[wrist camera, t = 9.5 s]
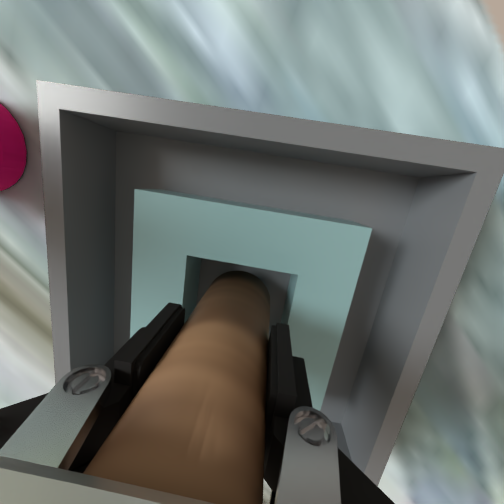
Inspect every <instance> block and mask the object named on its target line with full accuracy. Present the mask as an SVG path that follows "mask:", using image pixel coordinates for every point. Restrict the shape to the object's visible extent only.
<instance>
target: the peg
mask: <svg viewBox="0 0 504 504" xmlns="http://www.w3.org/2000/svg"><path fill="white" fill-rule="evenodd" d="M269 321H270V295H269V292H268V290H267V287H266V286H265V284H264V283H263V282H262V281H261V280H260V279H259V278H258V277H256V276H255V275H253V274H251V273H248V272H245V271H229V272H226V273H223V274H221V275H220V276H218V277H217V278H216V279H215V280H214V281H213V282H212V284H211V285H210V287H209V288H208V290H207V291H206V293H205V294H204V295H203V297H202V298H201V300H200V301H199V303H198V304H197V306H196V307H195V309H194V310H193V312H192V313H191V315H190V316H189V318H188V319H187V321H186V322H185V324H184V325H183V326H182V328H181V329H180V331H179V332H178V334H177V335H176V337H175V338H174V340H173V341H172V343H171V344H170V346H169V347H168V349H167V350H166V352H165V353H164V354H163V356H162V357H161V359H160V360H159V362H158V363H157V365H156V366H155V368H154V369H153V371H152V372H151V374H150V375H149V377H148V378H147V380H146V381H145V383H144V384H143V385H142V387H141V388H140V390H139V391H138V393H137V394H136V396H135V397H134V399H133V400H132V402H131V403H130V405H129V406H128V408H127V409H126V411H125V412H124V413H123V415H122V416H121V418H120V419H119V421H118V422H117V424H116V425H115V427H114V428H113V430H112V431H111V433H110V434H109V436H108V437H107V439H106V440H105V441H104V443H103V444H102V446H101V447H100V449H99V450H98V452H97V453H96V455H95V456H94V458H93V459H92V461H91V462H90V464H89V465H88V467H87V468H86V470H85V471H84V472H83V474H87V475H91V476H96V477H100V478H105V479H109V480H114V481H118V482H122V483H127V484H131V485H136V486H140V487H145V488H149V489H153V490H158V491H162V492H167V493H171V494H175V495H180V496H184V497H188V498H193V499H197V500H202V501H206V502H210V503H214V504H263V478H264V452H265V410H266V386H267V362H268V341H269Z"/></svg>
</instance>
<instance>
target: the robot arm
mask: <svg viewBox="0 0 504 504" xmlns="http://www.w3.org/2000/svg"><path fill="white" fill-rule="evenodd" d="M184 320H185V308H182V305H181V304H176V303H170V302H169V303H168V304H167V305H166V306H165V307H164V308H163V309H162V310H161V311H160V312H159V313H158V314H157V315H156V316H155V318H154V319H153V320H152V321H151V322H150V323H149V324H148V325H147V326H146V327H141V328H140V329H139V330H138V331H137V332H136V333H135V334H134V335H133V336H132V337H131V338H130V339H129V340H128V341H127V342H126V343H125V344H124V345H123V346H122V347H121V348H120V349H119V350H118V351H117V352H116V353H115V354H114V356H113V357H112V358H111V359H110V360H109V361H108V362H107V363H106V364H105V365H101V364H89V365H84V366H81V367H78V368H76V369H73V370H72V371H70V372H68V373H67V374H66V375H64V376H63V377H62V378H61V379H60V380H59V382H58V383H57V384H56V385H55V386H54V387H53V389H52V390H51V391H50V392H49V393H47V394H44V395H41V396H38V397H35V398H32V399H29V400H26V401H23V402H20V403H17V404H14V405H11V406H8V407H4V408H1V409H0V504H214V503H210V502H206V501H202V500H197V499H193V498H188V497H184V496H180V495H175V494H171V493H167V492H162V491H158V490H153V489H149V488H145V487H140V486H136V485H131V484H127V483H122V482H118V481H114V480H109V479H105V478H100V477H96V476H91V475H87V474H83V472H84V471H85V470H86V468H87V467H88V465H89V464H90V462H91V461H92V459H93V458H94V456H95V455H96V453H97V452H98V450H99V449H100V447H101V446H102V444H103V443H104V441H105V440H106V439H107V437H108V436H109V434H110V433H111V431H112V430H113V428H114V427H115V425H116V424H117V422H118V421H119V419H120V418H121V416H122V415H123V413H124V412H125V411H126V409H127V408H128V406H129V405H130V403H131V402H132V400H133V399H134V397H135V396H136V394H137V393H138V391H139V390H140V388H141V387H142V385H143V384H144V383H145V381H146V380H147V378H148V377H149V375H150V374H151V372H152V371H153V369H154V368H155V366H156V365H157V363H158V362H159V360H160V359H161V357H162V356H163V354H164V353H165V352H166V350H167V349H168V347H169V346H170V344H171V343H172V341H173V340H174V338H175V337H176V335H177V334H178V332H179V331H180V329H181V328H182V326H183V325H184ZM264 479H265V481H266V482H267V484H268V485H269V486H270V488H271V494H270V500H269V504H395V503H394V502H393V501H392V500H391V499H390V498H388V497H387V496H386V495H385V494H384V493H383V492H382V491H381V490H380V489H379V488H378V487H377V486H376V485H375V484H374V483H373V482H372V481H371V480H370V479H369V478H368V477H367V476H366V475H365V474H364V473H363V472H362V471H361V470H360V469H359V468H358V467H357V466H356V465H355V464H354V463H353V462H352V461H351V460H350V459H349V458H348V457H347V456H346V455H345V454H344V453H343V452H342V451H341V450H340V449H339V448H338V447H337V435H336V431H335V428H334V426H333V424H332V422H331V421H330V420H329V419H328V417H327V416H326V415H324V414H323V413H322V412H320V411H319V410H317V409H315V408H313V406H312V401H311V395H310V389H309V384H308V378H307V372H306V367H305V361H304V359H303V358H301V357H296V356H292V348H291V339H290V329H289V325H288V324H282V323H277V324H276V325H272V326H271V331H270V336H269V341H268V362H267V386H266V410H265V452H264Z"/></svg>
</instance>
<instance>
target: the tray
mask: <svg viewBox="0 0 504 504" xmlns="http://www.w3.org/2000/svg"><path fill="white" fill-rule="evenodd" d="M36 85H37V100H38V116H39V132H40V148H41V163H42V179H43V195H44V211H45V226H46V242H47V258H48V274H49V289H50V305H51V321H52V337H53V352H54V368H55V384H57V383H58V382H59V380H60V379H61V378H62V377H63V376H64V375H66V374H67V373H68V372H70V371H72V370H73V369H76V368H78V367H81V366H84V365H89V364H101V365H105V364H106V363H107V362H108V361H109V360H110V359H111V358H112V357H113V356H114V354H115V353H116V352H117V351H118V350H119V349H120V348H121V347H122V346H123V345H124V344H125V343H126V342H127V341H128V340H129V339H130V338H131V337H132V336H133V335H134V334H135V333H136V332H137V331H138V330H139V329H140V328H141V327H146V326H147V325H148V324H149V323H150V322H151V321H152V320H153V319H154V318H155V316H156V315H157V314H158V313H159V312H160V311H161V310H162V309H163V308H164V307H165V306H166V305H167V304H168V303H169V302H170V303H176V304H181V305H182V308H185V320H184V324H185V322H186V321H187V319H188V318H189V316H190V315H191V313H192V312H193V310H194V309H195V307H196V306H197V304H198V303H199V301H200V300H201V298H202V297H203V295H204V294H205V293H206V291H207V290H208V288H209V287H210V285H211V284H212V282H213V281H214V280H215V279H216V278H217V277H218V276H220V275H221V274H223V273H226V272H229V271H245V272H248V273H251V274H253V275H255V276H256V277H258V278H259V279H260V280H261V281H262V282H263V283H264V284H265V286H266V287H267V290H268V292H269V295H270V321H269V336H270V331H271V326H272V325H276V324H277V323H282V324H288V325H289V329H290V339H291V348H292V356H296V357H301V358H303V359H304V361H305V367H306V372H307V378H308V384H309V389H310V395H311V401H312V406H313V408H315V409H317V410H319V411H320V412H322V413H323V414H324V415H326V416H327V417H328V419H329V420H330V421H331V422H332V424H333V426H334V428H335V431H336V435H337V447H338V448H339V449H340V450H341V451H342V452H343V453H344V454H345V455H346V456H347V457H348V458H349V459H350V460H351V461H352V462H353V463H354V464H355V465H356V466H357V467H358V468H359V469H360V470H361V471H362V472H363V473H364V474H365V475H366V476H367V477H368V478H369V479H370V480H371V481H372V482H373V483H374V484H375V485H376V486H378V484H379V481H380V479H381V476H382V474H383V471H384V469H385V466H386V464H387V461H388V459H389V456H390V454H391V451H392V449H393V446H394V444H395V441H396V439H397V437H398V434H399V432H400V429H401V427H402V424H403V422H404V419H405V417H406V414H407V412H408V409H409V407H410V404H411V402H412V399H413V397H414V394H415V392H416V389H417V387H418V384H419V382H420V379H421V377H422V374H423V372H424V370H425V367H426V365H427V362H428V360H429V357H430V355H431V352H432V350H433V347H434V345H435V342H436V340H437V337H438V335H439V332H440V330H441V327H442V325H443V322H444V320H445V317H446V315H447V312H448V310H449V307H450V305H451V303H452V300H453V298H454V295H455V293H456V290H457V288H458V285H459V283H460V280H461V278H462V275H463V273H464V270H465V268H466V265H467V263H468V260H469V258H470V255H471V253H472V250H473V248H474V245H475V243H476V241H477V238H478V236H479V233H480V231H481V228H482V226H483V223H484V221H485V218H486V216H487V213H488V211H489V208H490V206H491V203H492V201H493V198H494V196H495V193H496V191H497V188H498V186H499V183H500V181H501V178H502V176H503V174H504V148H498V147H491V146H484V145H478V144H471V143H464V142H457V141H450V140H443V139H436V138H430V137H423V136H416V135H409V134H402V133H395V132H388V131H382V130H375V129H368V128H361V127H354V126H347V125H341V124H334V123H327V122H320V121H313V120H306V119H299V118H293V117H286V116H279V115H272V114H265V113H258V112H251V111H245V110H238V109H231V108H224V107H217V106H210V105H203V104H197V103H190V102H183V101H176V100H169V99H162V98H155V97H149V96H142V95H135V94H128V93H121V92H114V91H107V90H101V89H94V88H87V87H80V86H73V85H66V84H59V83H53V82H46V81H39V80H36Z"/></svg>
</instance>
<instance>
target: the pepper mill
mask: <svg viewBox="0 0 504 504" xmlns="http://www.w3.org/2000/svg"><path fill="white" fill-rule="evenodd" d="M26 154H27V151H26V146H25V141H24V136H23V134H22V132H21V130H20V127H19V125H18V123H17V122H16V120H15V119H14V118H13V116H12V115H11V114H10V112H9V111H8V110H7V109H6V108H5V107H4V106H3V105H1V104H0V191H2V190H5V189H8V188H9V187H11V186H12V185H14V184H15V183H16V182H17V181H18V180H19V178H20V177H21V176H22V174H23V172H24V168H25V165H26Z"/></svg>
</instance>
